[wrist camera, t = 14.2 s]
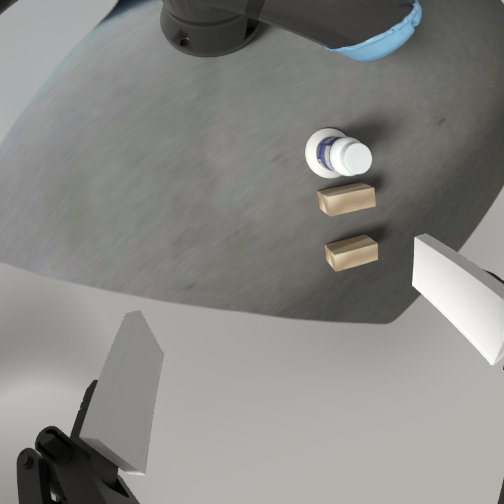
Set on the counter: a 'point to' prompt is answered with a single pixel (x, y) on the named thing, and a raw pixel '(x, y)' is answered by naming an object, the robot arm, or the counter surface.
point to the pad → (312, 147)
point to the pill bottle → (343, 155)
